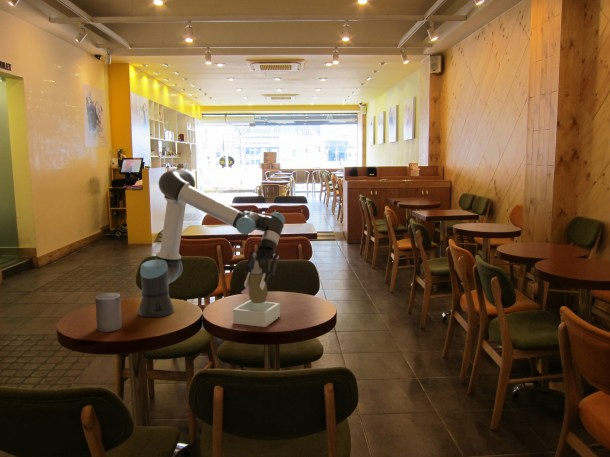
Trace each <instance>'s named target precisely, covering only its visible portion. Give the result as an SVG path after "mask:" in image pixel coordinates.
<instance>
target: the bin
mask: <svg viewBox="0 0 610 457" xmlns="http://www.w3.org/2000/svg"><path fill="white" fill-rule="evenodd" d="M278 317H279V318H280V317H281V303H279V302H270V301H265V302H264V303H258V304H256V303H252V301H251V300H250V299H249V300H247V301H246V302H243V303H242V304H240V305H238V306H236V307H234V308H233V309H232V323H233V324H236V325H237V324H238V325H245V326H246V325H247V326H253V327H255V326H256V327H263V328H265V327H268V326H269V325H270V324H272V323H273V322H274V321H277V319H279V318H278Z"/></svg>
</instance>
